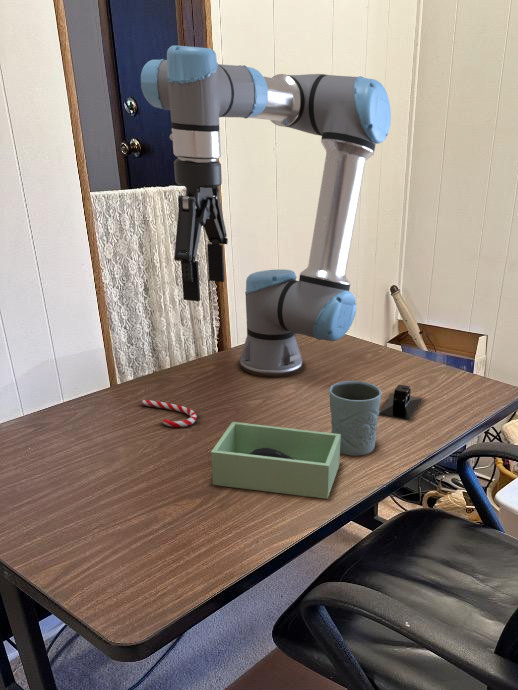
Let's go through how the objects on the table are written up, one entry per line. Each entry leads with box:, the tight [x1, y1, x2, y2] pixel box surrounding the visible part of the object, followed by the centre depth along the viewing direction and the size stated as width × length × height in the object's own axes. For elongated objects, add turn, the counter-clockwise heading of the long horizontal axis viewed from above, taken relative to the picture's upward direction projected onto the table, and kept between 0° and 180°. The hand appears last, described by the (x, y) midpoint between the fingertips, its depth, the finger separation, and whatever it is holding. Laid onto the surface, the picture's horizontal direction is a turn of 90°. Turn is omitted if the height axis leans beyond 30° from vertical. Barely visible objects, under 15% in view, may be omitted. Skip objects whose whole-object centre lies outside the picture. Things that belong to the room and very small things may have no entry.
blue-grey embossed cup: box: [328, 380, 383, 457], centre depth 136 cm, size 10×10×12 cm
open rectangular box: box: [210, 421, 341, 500], centre depth 125 cm, size 13×21×7 cm, turn 83°
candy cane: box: [141, 399, 198, 428], centre depth 144 cm, size 8×1×15 cm
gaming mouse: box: [249, 448, 294, 460], centre depth 125 cm, size 6×15×4 cm, turn 73°
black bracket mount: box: [378, 384, 423, 421], centre depth 156 cm, size 12×7×5 cm, turn 164°
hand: (205, 290), depth 124 cm, fingers open, 13 cm apart
